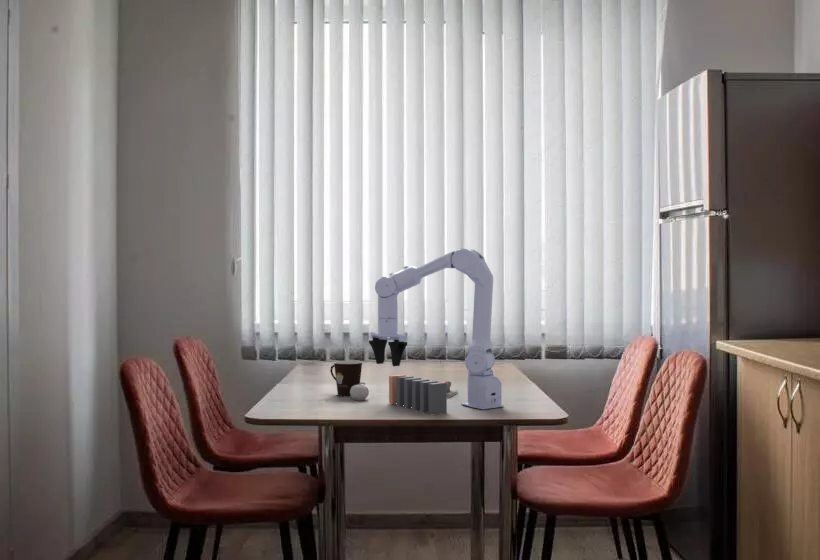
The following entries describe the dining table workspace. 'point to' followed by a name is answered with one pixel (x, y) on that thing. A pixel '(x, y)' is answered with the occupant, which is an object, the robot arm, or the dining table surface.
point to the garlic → (359, 391)
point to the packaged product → (448, 389)
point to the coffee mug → (346, 375)
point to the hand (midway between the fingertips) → (387, 364)
